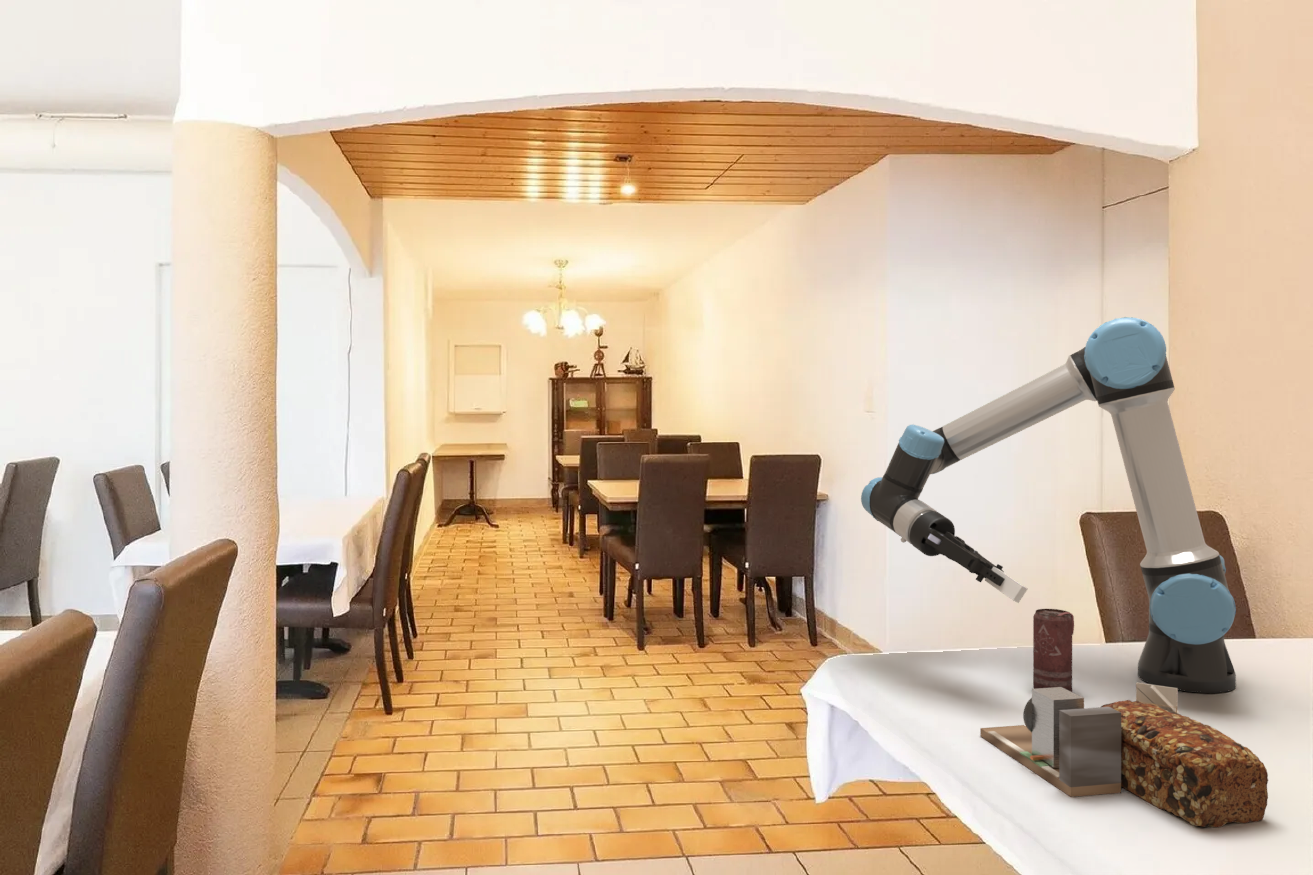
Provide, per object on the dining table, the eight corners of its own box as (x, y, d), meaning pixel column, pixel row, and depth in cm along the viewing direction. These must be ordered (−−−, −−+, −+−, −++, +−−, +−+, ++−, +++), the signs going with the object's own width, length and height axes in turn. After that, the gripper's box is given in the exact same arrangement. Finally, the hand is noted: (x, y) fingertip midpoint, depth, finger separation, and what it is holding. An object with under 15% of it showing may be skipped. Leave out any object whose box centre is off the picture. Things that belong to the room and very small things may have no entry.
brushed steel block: (1017, 752, 126) (1017, 687, 126) (1062, 749, 127) (1063, 684, 127) (1042, 768, 121) (1042, 700, 120) (1089, 764, 122) (1089, 697, 121)
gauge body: (980, 735, 137) (980, 668, 137) (1023, 732, 138) (1023, 665, 138) (1070, 796, 115) (1070, 716, 115) (1121, 792, 116) (1121, 712, 116)
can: (1077, 698, 154) (1077, 615, 153) (1037, 696, 155) (1037, 614, 155) (1069, 688, 160) (1069, 608, 159) (1030, 686, 161) (1030, 607, 161)
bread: (1086, 771, 123) (1086, 698, 123) (1154, 764, 126) (1154, 692, 125) (1196, 833, 105) (1197, 747, 105) (1273, 823, 108) (1274, 739, 107)
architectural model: (1176, 744, 134) (1177, 694, 134) (1123, 735, 138) (1124, 686, 138) (1178, 737, 137) (1179, 688, 136) (1127, 729, 141) (1127, 680, 140)
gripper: (936, 556, 169) (1031, 625, 149) (890, 535, 162) (983, 603, 142) (958, 522, 168) (1056, 586, 148) (912, 498, 161) (1009, 562, 141)
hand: (1020, 594), depth 145 cm, fingers closed
